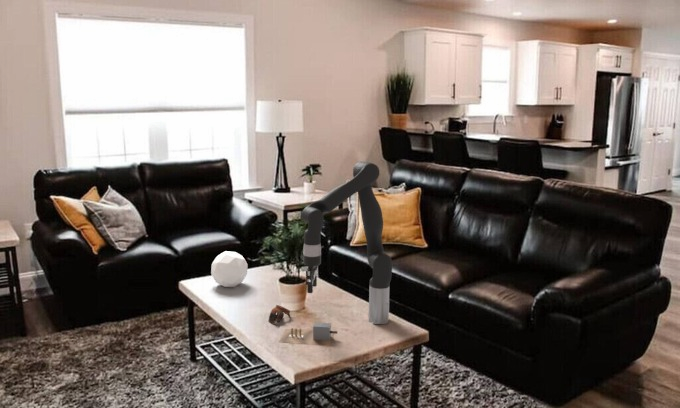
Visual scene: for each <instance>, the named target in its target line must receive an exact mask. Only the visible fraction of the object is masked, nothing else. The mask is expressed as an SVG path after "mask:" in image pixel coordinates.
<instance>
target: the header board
mask: <svg viewBox="0 0 680 408" xmlns="http://www.w3.org/2000/svg"><path fill="white" fill-rule="evenodd" d="M334 336H335V334H334V333H331V338H330V341H324V340H313V329H312V330H311V329H309V330H308V329H302V328H299V329H298V328H297V327H296V328H292V327H291V328H284V331H283V333H282V334H281V337H280V338H279V340H278V343H279V344H295V345H307V346H308V345H309V346H310V345H311V346H324V347H325V346H326V347H331V345H332V341H333V339H334Z"/></svg>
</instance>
